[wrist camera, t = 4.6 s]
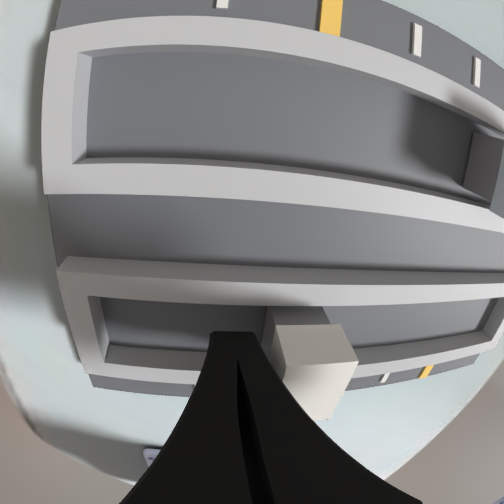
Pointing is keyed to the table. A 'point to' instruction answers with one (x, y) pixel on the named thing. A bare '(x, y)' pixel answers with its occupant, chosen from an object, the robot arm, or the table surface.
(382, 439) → the table surface
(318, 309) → the fader
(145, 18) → the console
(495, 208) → the fader
